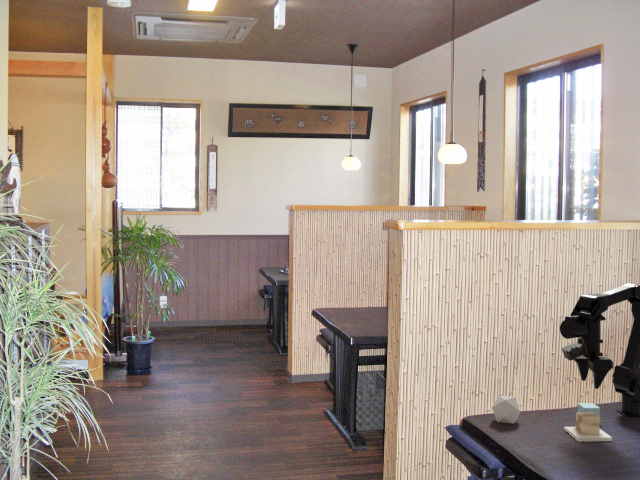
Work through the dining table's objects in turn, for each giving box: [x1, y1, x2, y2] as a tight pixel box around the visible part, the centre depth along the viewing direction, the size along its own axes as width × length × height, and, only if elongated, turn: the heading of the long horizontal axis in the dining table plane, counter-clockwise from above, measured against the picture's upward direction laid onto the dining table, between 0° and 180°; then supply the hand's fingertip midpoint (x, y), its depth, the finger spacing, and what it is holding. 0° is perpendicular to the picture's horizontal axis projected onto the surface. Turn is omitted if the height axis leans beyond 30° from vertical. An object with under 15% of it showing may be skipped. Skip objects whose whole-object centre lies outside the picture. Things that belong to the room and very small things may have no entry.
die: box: [491, 395, 522, 424], centre depth 220 cm, size 8×9×10 cm
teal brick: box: [577, 402, 601, 418], centre depth 221 cm, size 5×5×5 cm
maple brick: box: [575, 411, 601, 434], centre depth 207 cm, size 5×5×5 cm
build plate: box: [563, 426, 613, 443], centre depth 207 cm, size 10×10×1 cm
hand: (590, 384), depth 220 cm, fingers open, 9 cm apart
